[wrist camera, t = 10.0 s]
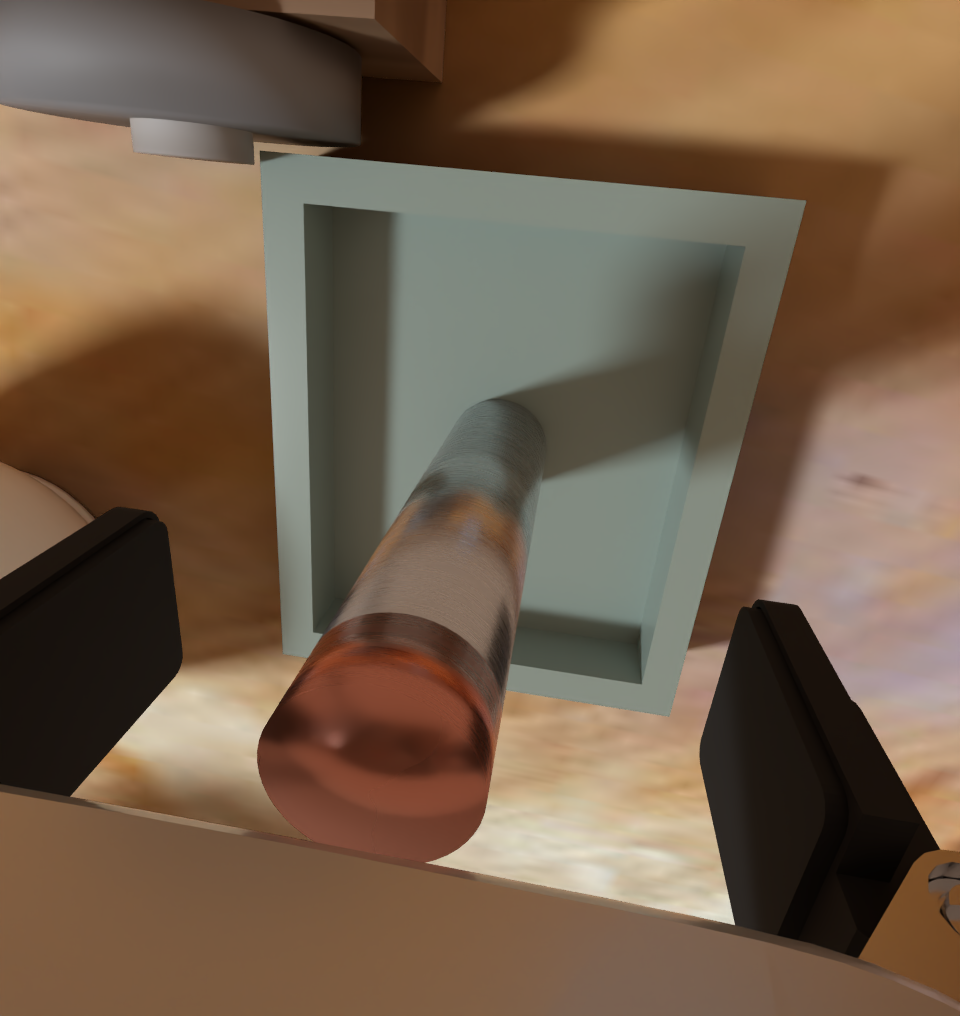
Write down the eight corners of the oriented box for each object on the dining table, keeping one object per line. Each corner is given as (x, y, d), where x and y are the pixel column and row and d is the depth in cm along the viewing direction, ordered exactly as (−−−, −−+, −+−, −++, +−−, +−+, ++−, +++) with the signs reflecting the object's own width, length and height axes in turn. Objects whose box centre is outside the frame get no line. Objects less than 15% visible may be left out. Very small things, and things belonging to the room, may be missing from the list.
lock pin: (453, 393, 19) (249, 668, 7) (552, 405, 18) (496, 709, 7) (448, 485, 20) (263, 842, 9) (540, 497, 20) (477, 883, 8)
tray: (309, 160, 18) (259, 150, 15) (769, 202, 17) (806, 200, 14) (317, 603, 24) (282, 654, 21) (658, 655, 22) (669, 716, 20)
